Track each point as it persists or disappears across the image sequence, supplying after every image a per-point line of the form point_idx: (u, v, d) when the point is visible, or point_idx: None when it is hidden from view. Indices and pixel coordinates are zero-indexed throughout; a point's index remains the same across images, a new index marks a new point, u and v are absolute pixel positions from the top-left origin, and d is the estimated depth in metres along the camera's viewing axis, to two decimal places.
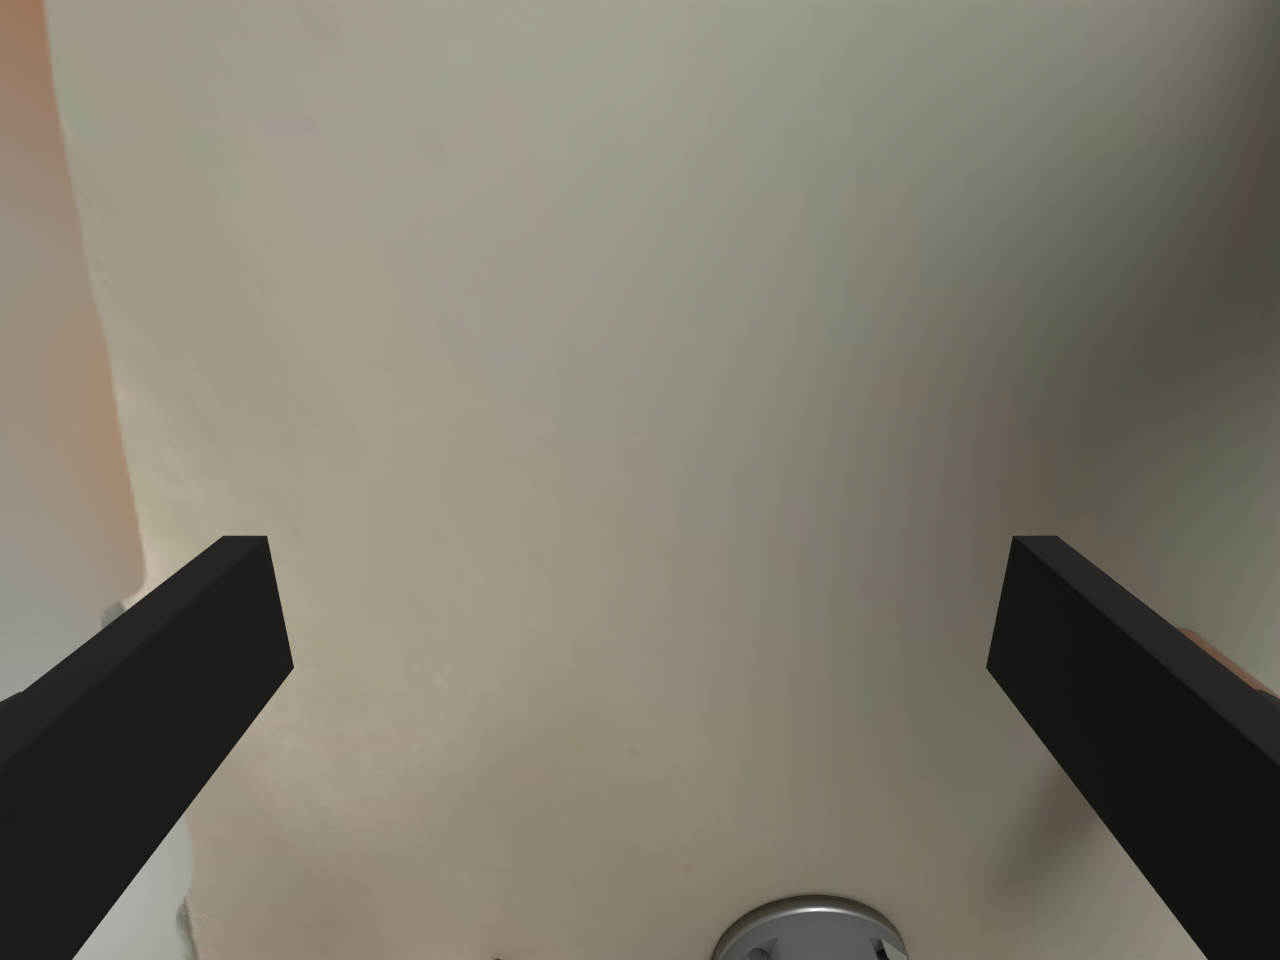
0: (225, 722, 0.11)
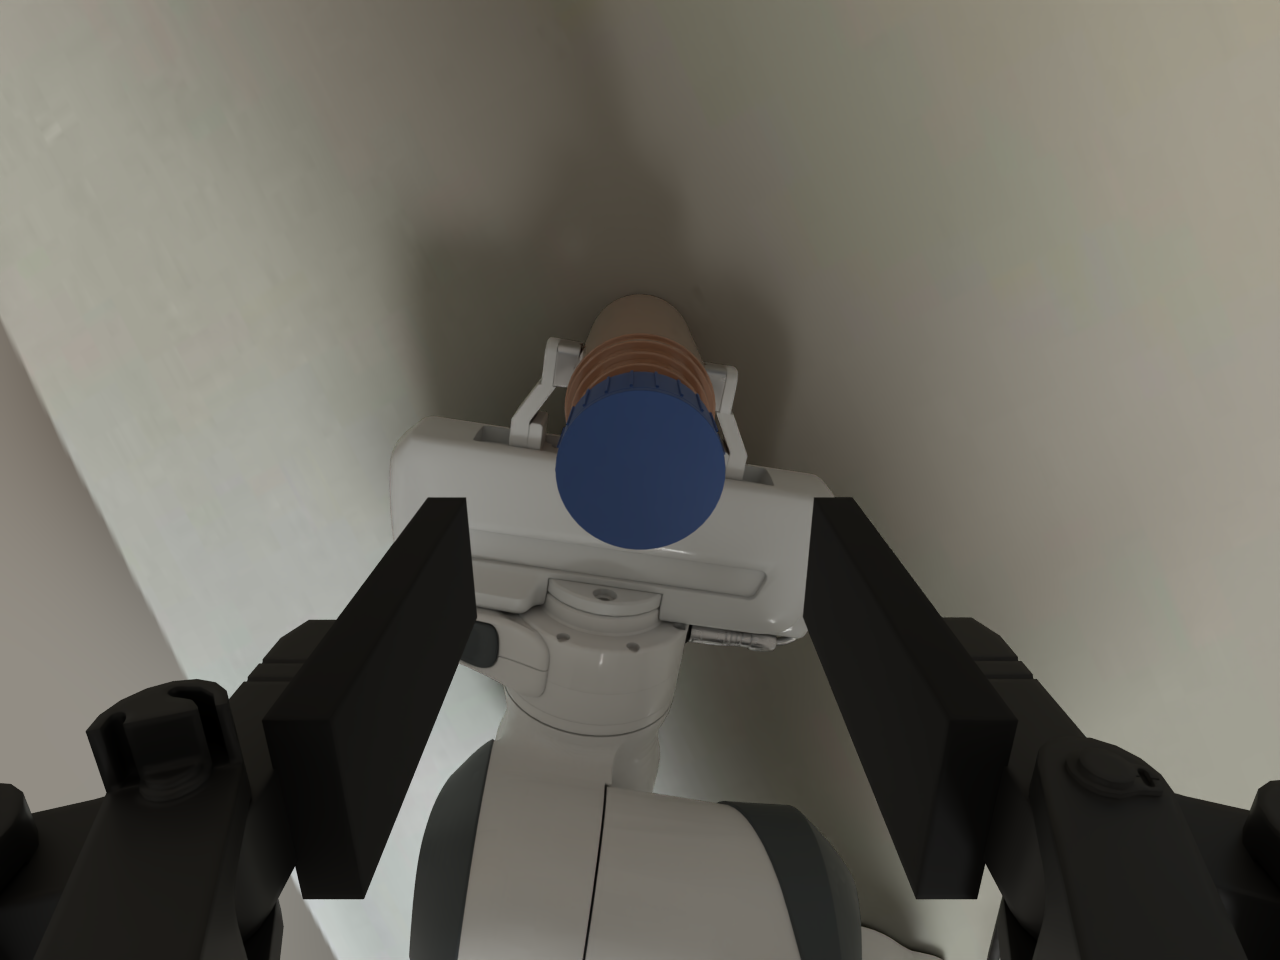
0: (449, 656, 0.13)
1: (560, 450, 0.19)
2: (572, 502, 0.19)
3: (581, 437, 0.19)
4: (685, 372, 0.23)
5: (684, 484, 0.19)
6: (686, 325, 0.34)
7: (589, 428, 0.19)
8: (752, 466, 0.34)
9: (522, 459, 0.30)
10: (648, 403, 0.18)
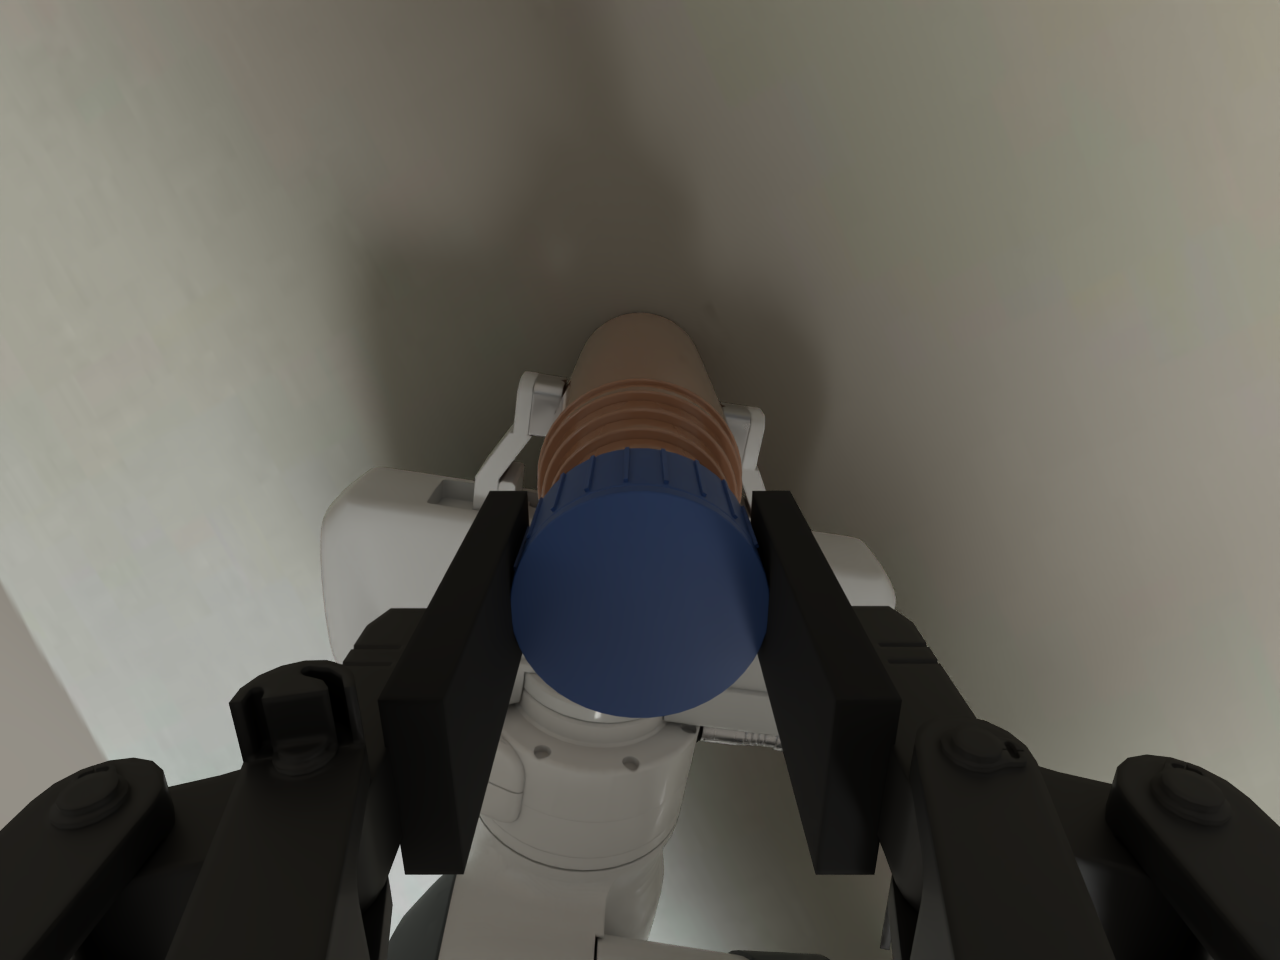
0: (516, 644, 0.13)
1: (516, 579, 0.12)
2: (536, 653, 0.13)
3: (548, 560, 0.12)
4: (703, 437, 0.16)
5: (707, 628, 0.13)
6: (697, 353, 0.27)
7: (560, 547, 0.12)
8: None
9: None
10: (652, 511, 0.12)
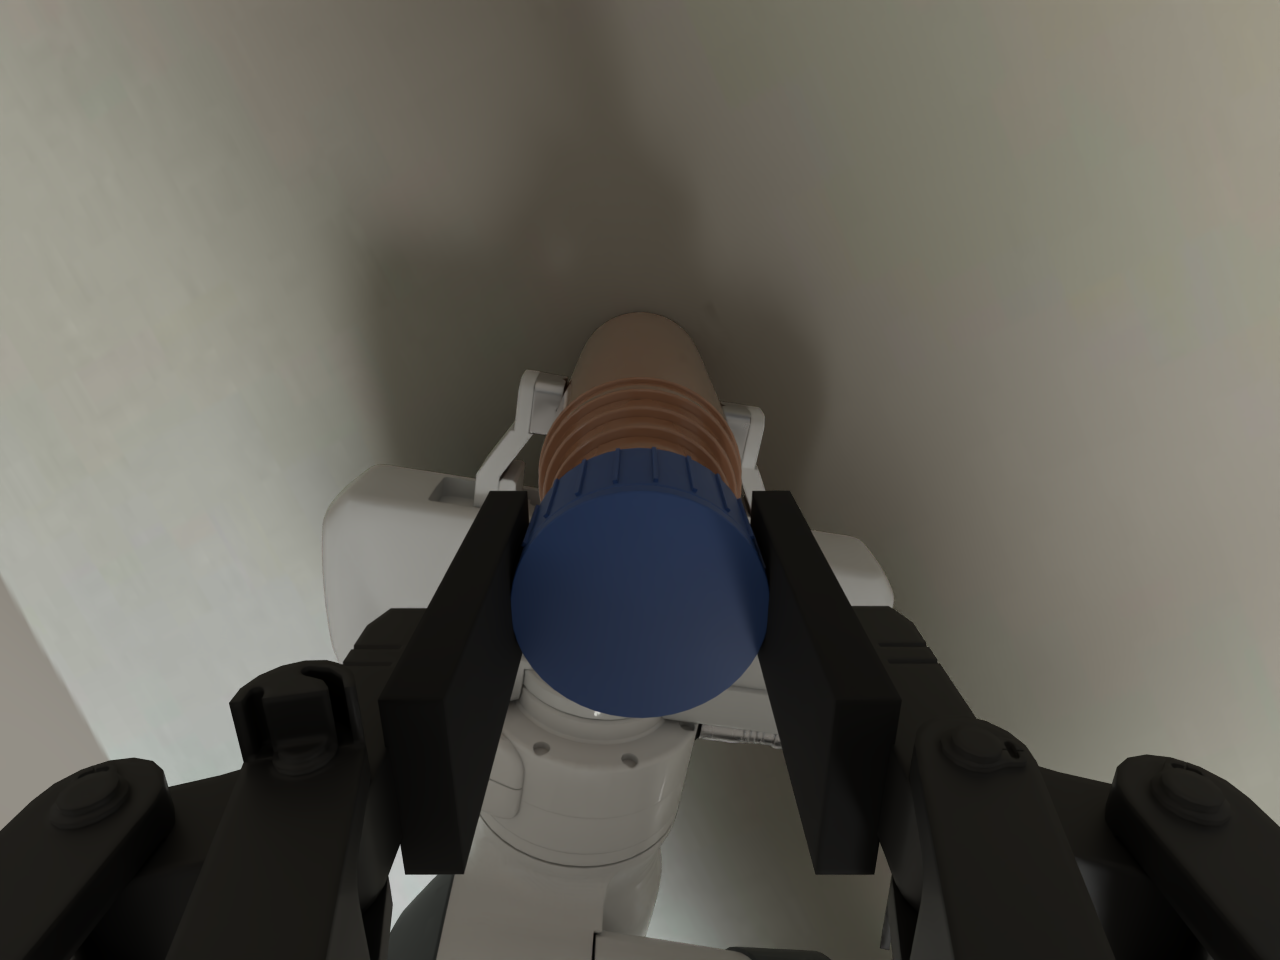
0: (516, 644, 0.13)
1: (676, 711, 0.13)
2: (737, 662, 0.13)
3: (642, 700, 0.13)
4: (703, 435, 0.17)
5: (615, 552, 0.12)
6: (697, 352, 0.27)
7: (625, 698, 0.13)
8: None
9: None
10: (545, 657, 0.13)
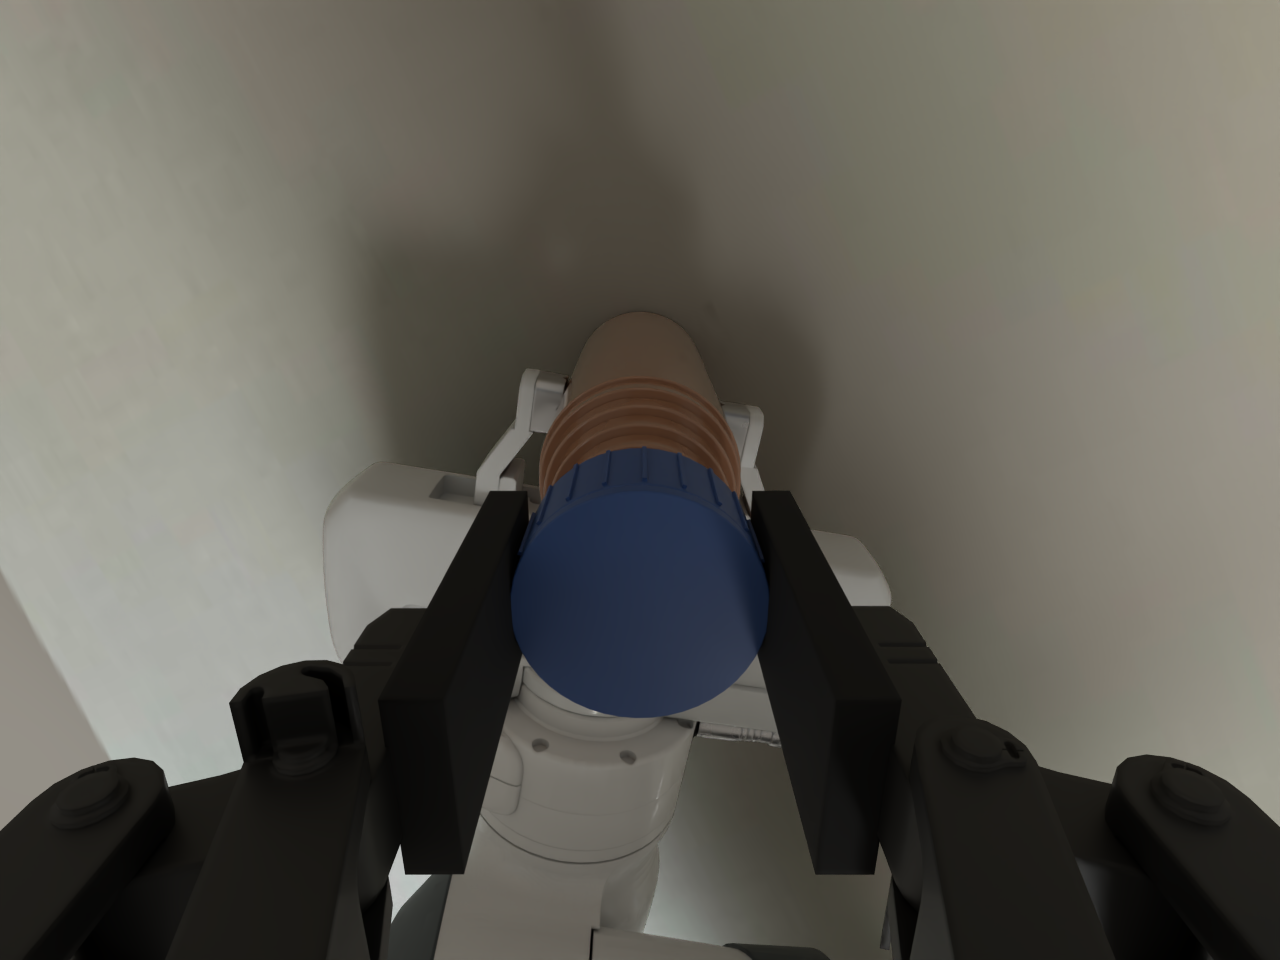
0: (516, 644, 0.13)
1: (721, 520, 0.12)
2: (632, 504, 0.12)
3: (728, 556, 0.12)
4: (703, 433, 0.17)
5: (600, 660, 0.13)
6: (697, 352, 0.27)
7: (736, 571, 0.12)
8: None
9: None
10: (736, 654, 0.13)
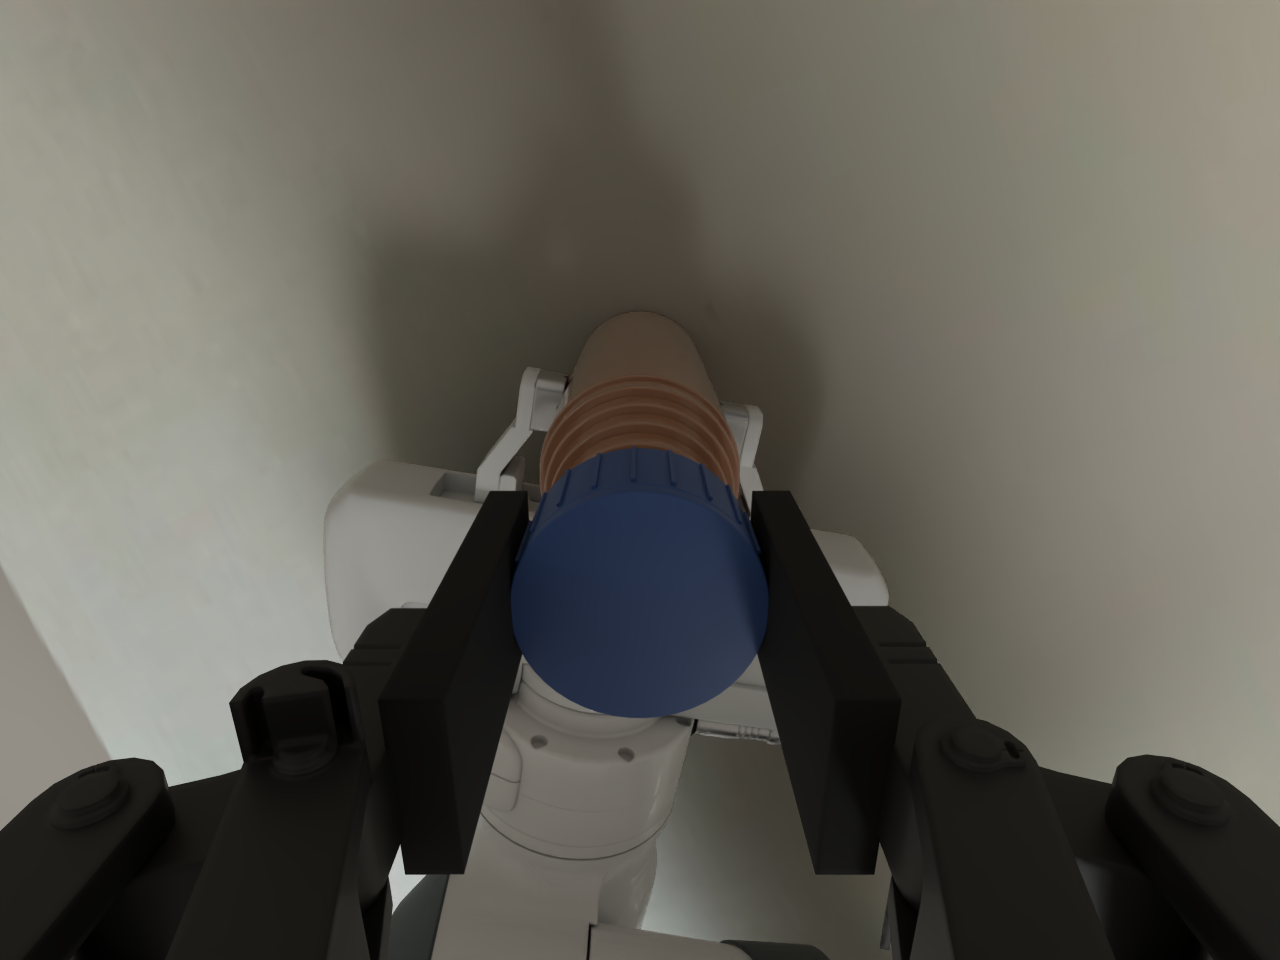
0: (516, 644, 0.13)
1: (512, 605, 0.12)
2: (551, 672, 0.13)
3: (537, 581, 0.12)
4: (702, 432, 0.17)
5: (710, 613, 0.12)
6: (697, 351, 0.28)
7: (545, 566, 0.12)
8: None
9: None
10: (623, 511, 0.12)
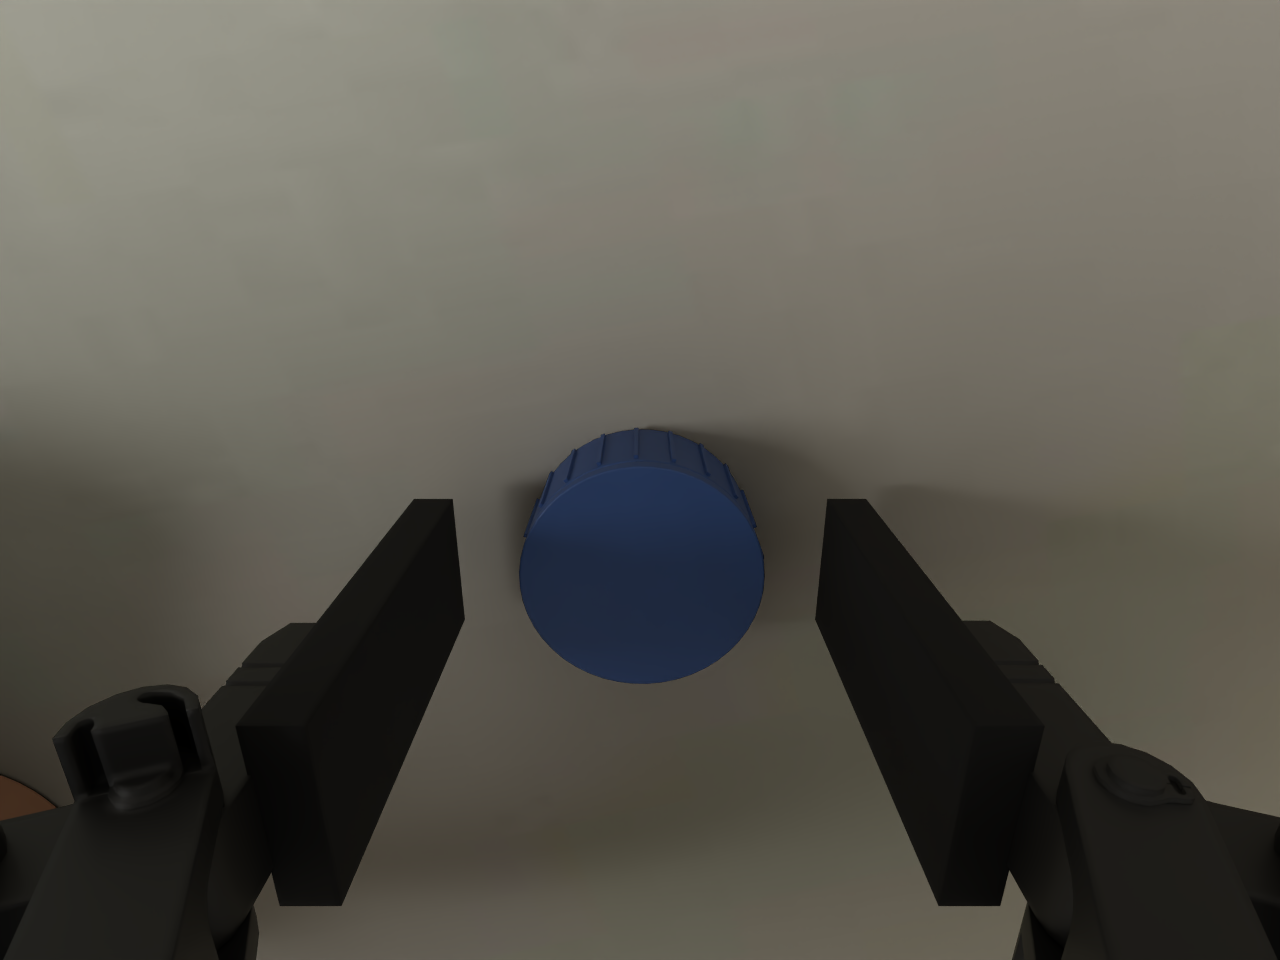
0: (434, 658, 0.13)
1: (522, 576, 0.13)
2: (558, 639, 0.14)
3: (546, 552, 0.13)
4: None
5: (708, 582, 0.13)
6: None
7: (553, 538, 0.13)
8: None
9: None
10: (627, 485, 0.13)
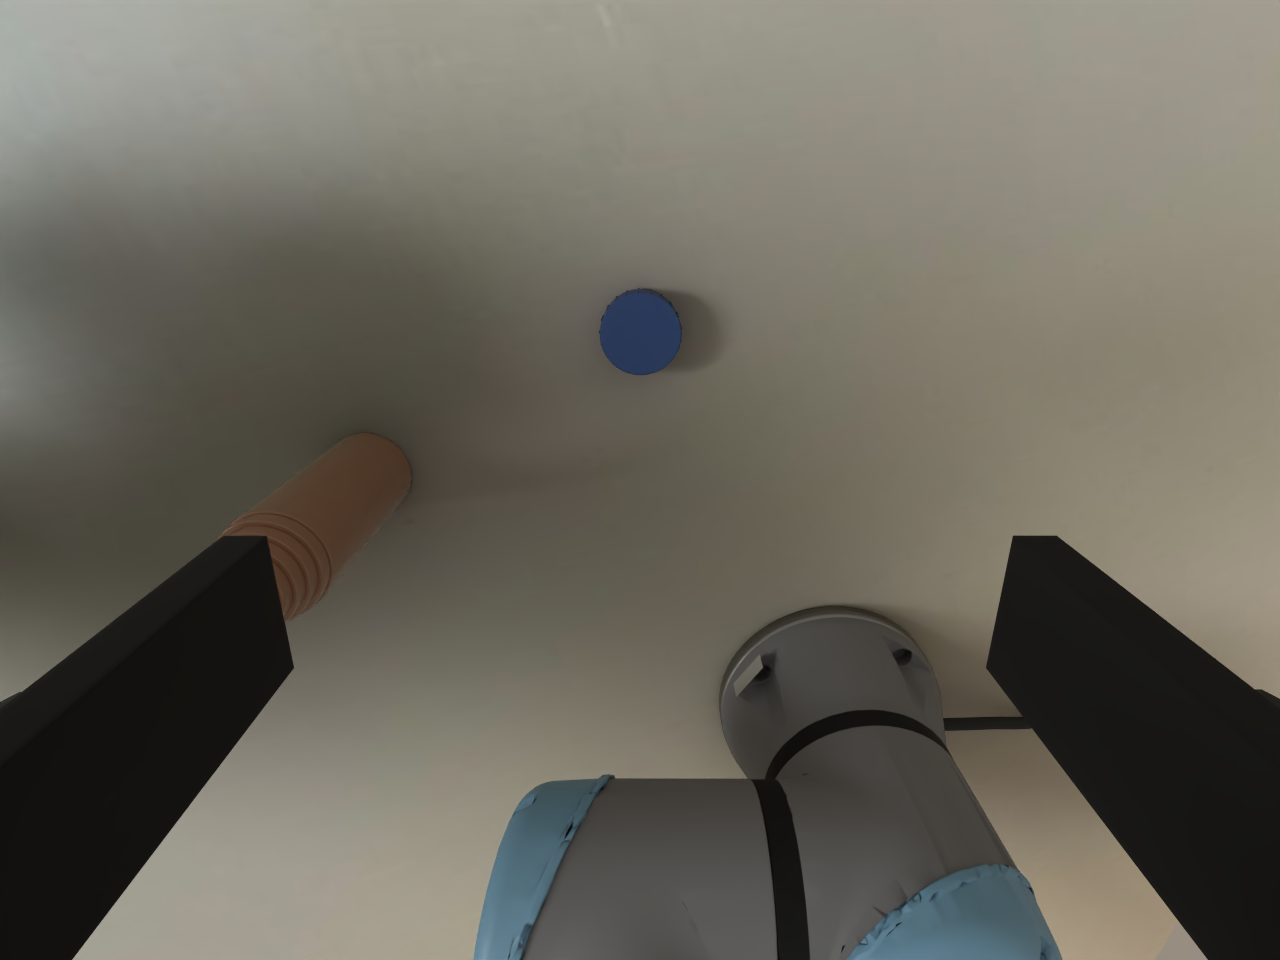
0: (225, 722, 0.11)
1: (601, 332, 0.40)
2: (612, 357, 0.40)
3: (609, 323, 0.40)
4: (294, 615, 0.33)
5: (662, 335, 0.40)
6: None
7: (611, 318, 0.40)
8: None
9: None
10: (635, 299, 0.39)
